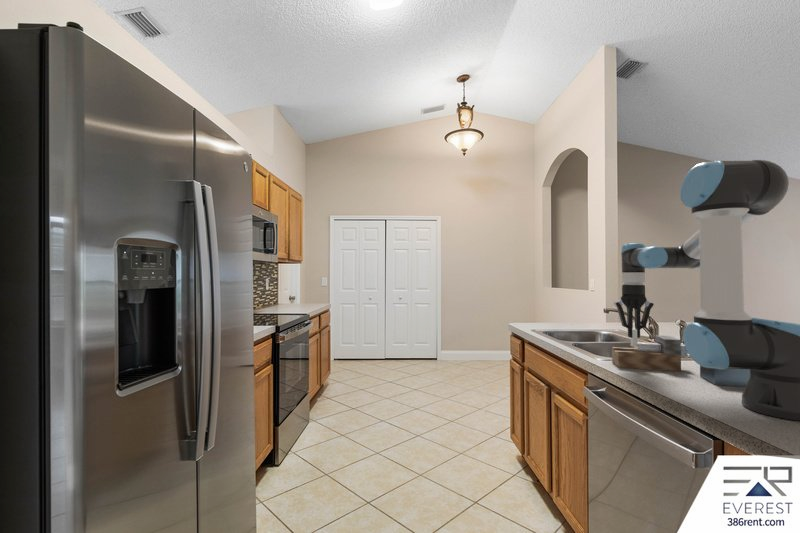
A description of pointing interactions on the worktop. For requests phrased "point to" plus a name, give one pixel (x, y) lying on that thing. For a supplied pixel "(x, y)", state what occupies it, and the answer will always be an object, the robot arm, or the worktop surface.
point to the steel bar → (656, 348)
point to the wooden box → (651, 356)
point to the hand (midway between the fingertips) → (634, 346)
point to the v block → (726, 376)
